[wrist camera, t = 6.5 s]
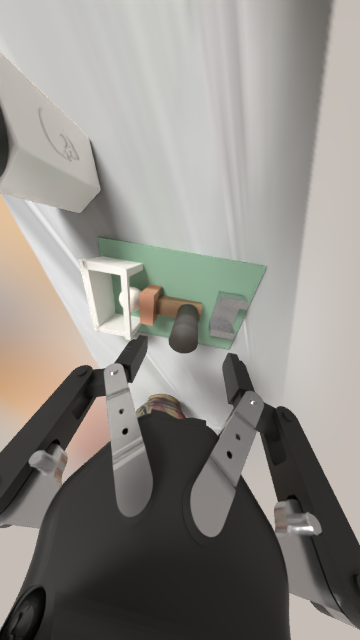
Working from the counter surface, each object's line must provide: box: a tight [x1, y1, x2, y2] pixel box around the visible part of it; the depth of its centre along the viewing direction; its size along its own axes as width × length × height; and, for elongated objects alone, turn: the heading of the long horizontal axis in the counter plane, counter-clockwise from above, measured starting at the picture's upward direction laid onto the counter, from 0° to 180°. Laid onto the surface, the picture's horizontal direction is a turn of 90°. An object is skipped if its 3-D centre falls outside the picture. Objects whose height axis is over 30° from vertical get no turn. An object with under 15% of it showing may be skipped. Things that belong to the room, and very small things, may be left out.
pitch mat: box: [97, 237, 267, 349], centre depth 24 cm, size 16×25×1 cm, turn 82°
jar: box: [0, 52, 101, 213], centre depth 12 cm, size 9×8×12 cm
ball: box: [119, 287, 141, 312], centre depth 22 cm, size 4×4×4 cm
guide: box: [208, 291, 250, 340], centre depth 22 cm, size 7×4×3 cm, turn 172°
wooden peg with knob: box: [140, 284, 202, 353], centre depth 19 cm, size 5×9×10 cm, turn 82°
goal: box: [79, 256, 143, 340], centre depth 21 cm, size 11×6×6 cm, turn 172°
